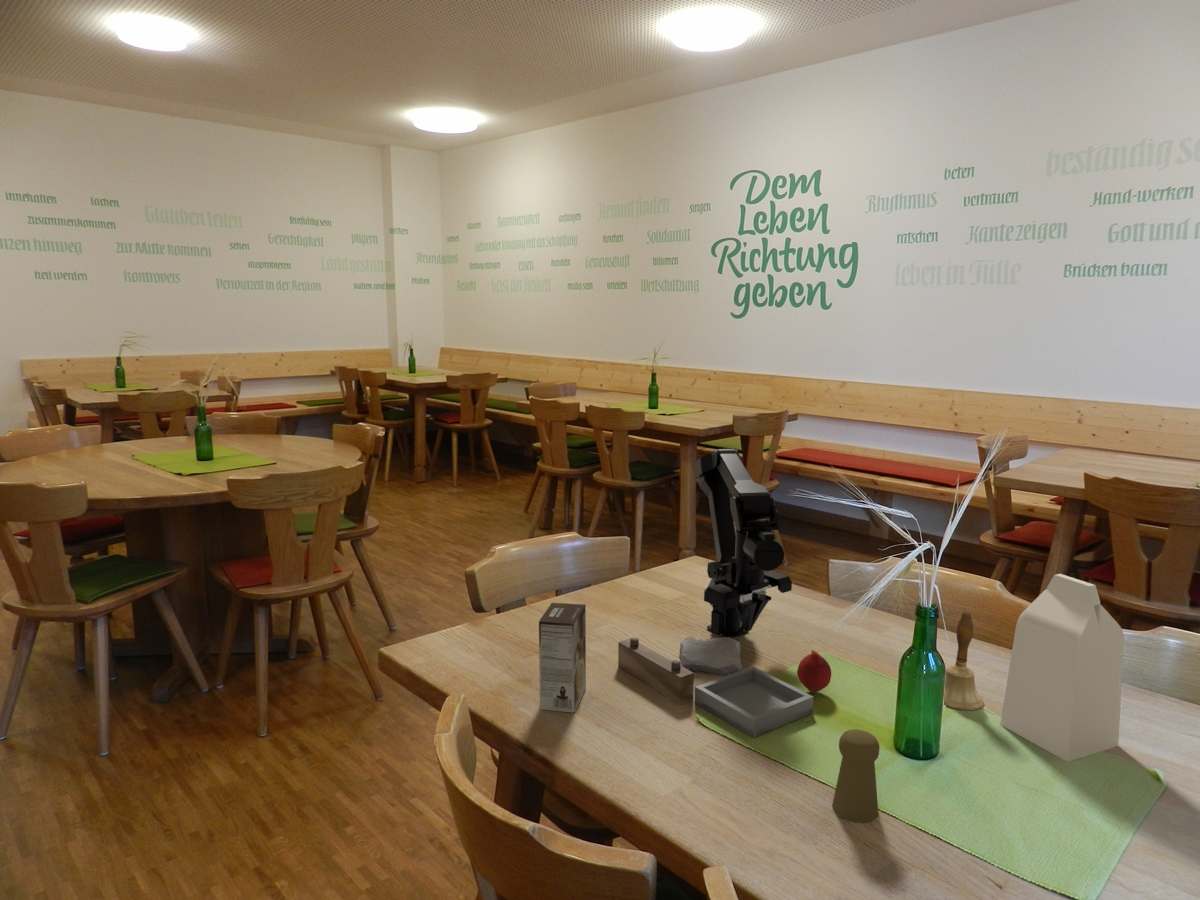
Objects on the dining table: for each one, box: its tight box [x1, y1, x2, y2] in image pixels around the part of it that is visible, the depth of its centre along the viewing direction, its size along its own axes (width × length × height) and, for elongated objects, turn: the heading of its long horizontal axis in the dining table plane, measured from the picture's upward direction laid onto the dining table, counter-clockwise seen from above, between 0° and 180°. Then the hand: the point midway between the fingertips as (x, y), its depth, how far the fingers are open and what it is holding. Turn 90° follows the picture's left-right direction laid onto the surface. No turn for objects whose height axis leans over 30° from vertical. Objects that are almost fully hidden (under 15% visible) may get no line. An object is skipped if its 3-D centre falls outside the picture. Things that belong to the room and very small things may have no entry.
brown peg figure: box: [831, 728, 880, 824], centre depth 108 cm, size 6×6×11 cm
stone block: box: [679, 636, 743, 676], centre depth 154 cm, size 12×5×10 cm
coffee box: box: [538, 602, 587, 713], centre depth 138 cm, size 9×6×16 cm
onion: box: [796, 648, 832, 694], centre depth 142 cm, size 6×6×8 cm
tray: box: [694, 666, 815, 739], centre depth 137 cm, size 14×14×3 cm
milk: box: [999, 573, 1125, 763], centre depth 126 cm, size 12×12×26 cm
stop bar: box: [617, 637, 695, 705], centre depth 146 cm, size 3×18×6 cm, turn 35°
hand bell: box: [943, 611, 985, 711], centre depth 139 cm, size 8×8×16 cm
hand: (747, 630), depth 157 cm, fingers closed
